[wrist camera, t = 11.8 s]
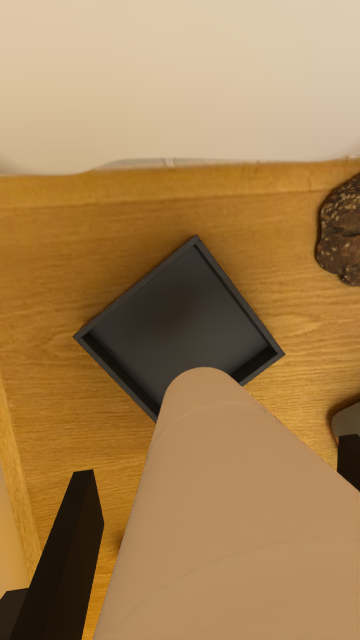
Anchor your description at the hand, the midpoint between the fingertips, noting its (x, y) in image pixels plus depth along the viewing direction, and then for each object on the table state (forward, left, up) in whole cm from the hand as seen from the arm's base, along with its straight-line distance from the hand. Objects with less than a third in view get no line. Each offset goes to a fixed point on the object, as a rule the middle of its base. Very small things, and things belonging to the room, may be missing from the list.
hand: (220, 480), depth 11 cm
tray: (0, 0, -21) cm, 21 cm away
